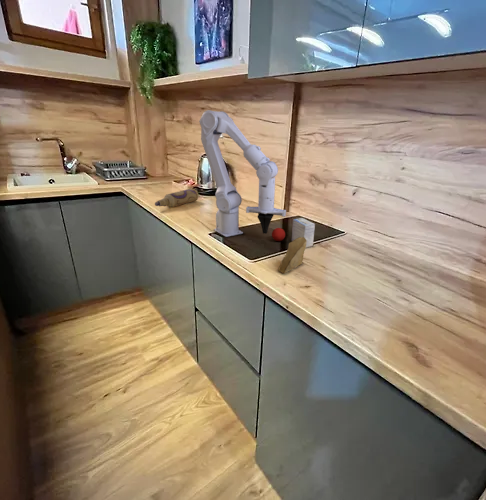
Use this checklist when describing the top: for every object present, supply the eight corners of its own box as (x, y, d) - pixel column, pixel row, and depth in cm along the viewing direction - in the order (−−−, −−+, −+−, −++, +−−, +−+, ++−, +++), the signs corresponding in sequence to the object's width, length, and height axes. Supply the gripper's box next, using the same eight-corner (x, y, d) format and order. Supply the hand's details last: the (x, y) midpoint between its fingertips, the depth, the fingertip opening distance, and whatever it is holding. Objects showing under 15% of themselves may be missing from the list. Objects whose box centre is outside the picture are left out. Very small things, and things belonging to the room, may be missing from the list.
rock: (285, 271, 85) (315, 262, 89) (275, 243, 87) (305, 235, 90) (273, 278, 95) (300, 268, 99) (264, 252, 97) (291, 244, 100)
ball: (268, 240, 114) (269, 227, 112) (279, 237, 117) (279, 225, 115) (277, 244, 111) (277, 231, 109) (287, 241, 114) (288, 229, 112)
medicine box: (313, 246, 110) (315, 223, 107) (303, 248, 108) (305, 225, 105) (300, 239, 117) (302, 217, 113) (291, 240, 114) (292, 218, 111)
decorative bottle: (189, 199, 165) (188, 187, 163) (199, 201, 162) (198, 189, 159) (149, 209, 145) (148, 195, 142) (160, 212, 141) (159, 198, 139)
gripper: (243, 197, 106) (243, 233, 112) (284, 201, 104) (282, 238, 109) (249, 193, 113) (248, 228, 118) (287, 196, 110) (285, 232, 115)
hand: (265, 232), depth 114 cm, fingers closed
